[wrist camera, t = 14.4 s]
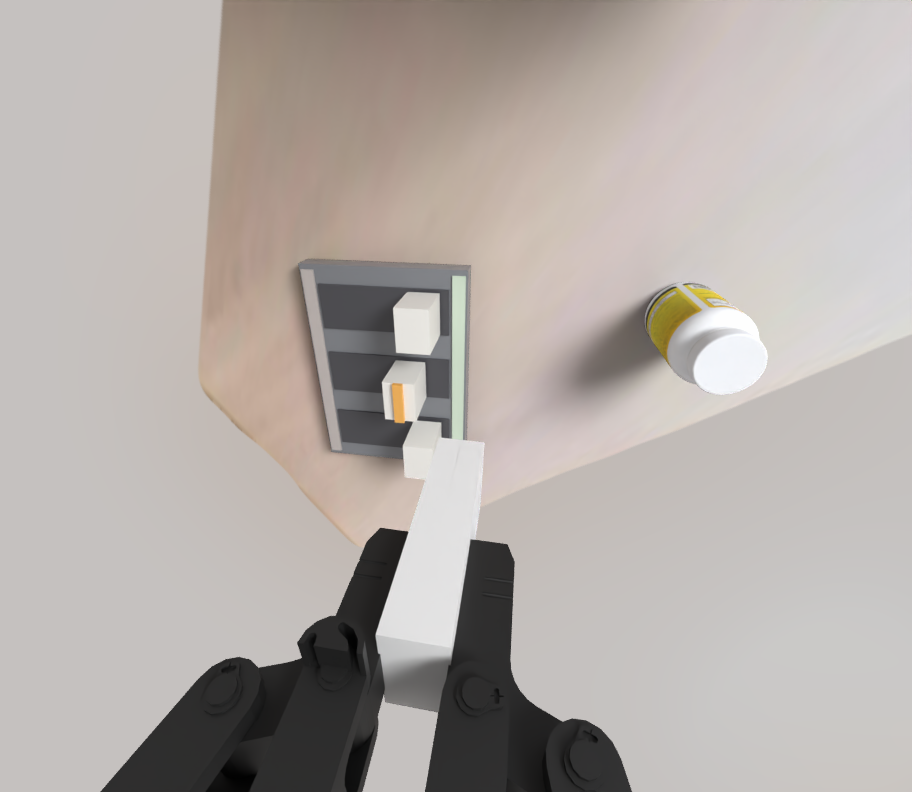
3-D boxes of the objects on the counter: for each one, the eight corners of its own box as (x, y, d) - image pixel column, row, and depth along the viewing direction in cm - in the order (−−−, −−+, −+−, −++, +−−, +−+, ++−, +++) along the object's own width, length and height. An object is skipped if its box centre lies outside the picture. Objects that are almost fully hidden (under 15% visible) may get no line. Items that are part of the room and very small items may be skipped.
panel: (307, 258, 41) (297, 263, 39) (471, 265, 39) (468, 271, 37) (338, 442, 52) (330, 452, 50) (466, 454, 50) (463, 466, 48)
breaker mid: (395, 360, 42) (380, 384, 38) (425, 362, 42) (412, 386, 37) (398, 394, 44) (384, 421, 40) (426, 397, 44) (415, 424, 39)
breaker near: (407, 291, 38) (392, 307, 34) (439, 293, 38) (429, 309, 34) (409, 333, 40) (396, 352, 36) (440, 334, 40) (430, 355, 36)
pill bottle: (648, 353, 40) (684, 413, 31) (637, 292, 38) (674, 338, 28) (719, 335, 39) (782, 393, 29) (714, 270, 36) (780, 311, 27)
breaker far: (413, 420, 45) (402, 446, 41) (441, 422, 45) (432, 449, 41) (415, 449, 47) (404, 477, 43) (441, 452, 47) (433, 480, 43)
